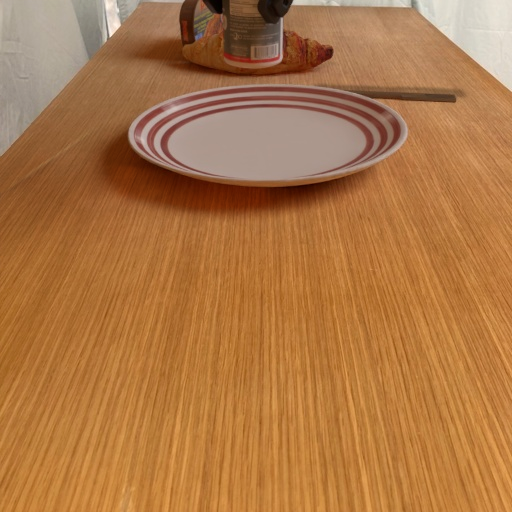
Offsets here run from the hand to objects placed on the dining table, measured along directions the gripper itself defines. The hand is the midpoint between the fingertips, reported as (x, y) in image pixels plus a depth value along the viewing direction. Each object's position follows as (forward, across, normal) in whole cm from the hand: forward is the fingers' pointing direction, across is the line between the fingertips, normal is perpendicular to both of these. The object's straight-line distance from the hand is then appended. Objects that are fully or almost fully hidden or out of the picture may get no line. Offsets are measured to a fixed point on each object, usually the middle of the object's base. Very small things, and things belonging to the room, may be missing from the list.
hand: (238, 11), depth 52 cm
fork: (-13, -4, +36) cm, 39 cm away
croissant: (-13, -26, +36) cm, 46 cm away
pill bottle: (+2, 0, +4) cm, 5 cm away
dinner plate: (+4, -5, +19) cm, 20 cm away
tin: (-15, -37, +38) cm, 56 cm away
